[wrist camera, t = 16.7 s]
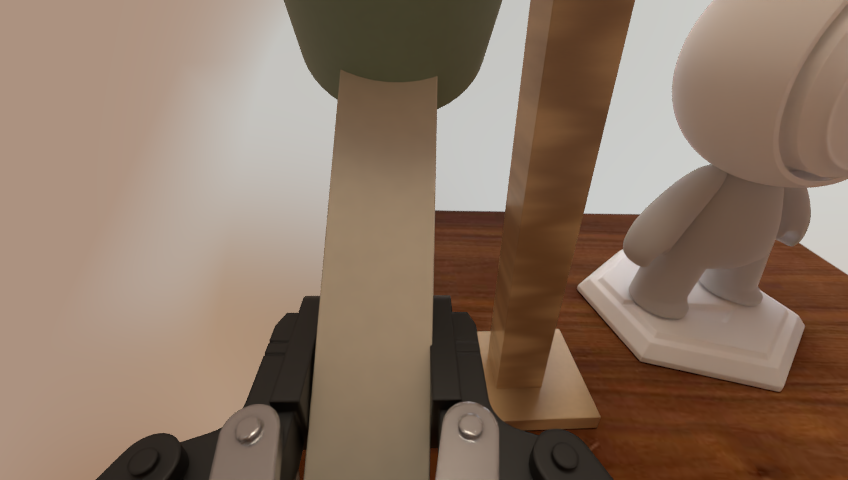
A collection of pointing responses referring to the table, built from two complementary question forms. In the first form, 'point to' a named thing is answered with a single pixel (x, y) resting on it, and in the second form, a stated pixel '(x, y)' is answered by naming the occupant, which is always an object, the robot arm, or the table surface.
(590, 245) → the table surface
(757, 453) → the table surface
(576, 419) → the stand
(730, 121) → the big headed doll
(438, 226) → the table surface
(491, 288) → the table surface
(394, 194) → the green headed mallet
